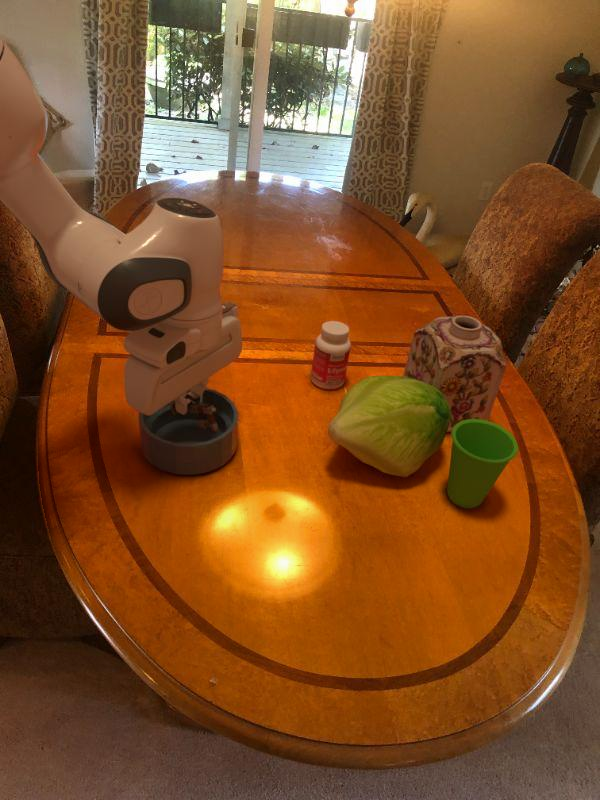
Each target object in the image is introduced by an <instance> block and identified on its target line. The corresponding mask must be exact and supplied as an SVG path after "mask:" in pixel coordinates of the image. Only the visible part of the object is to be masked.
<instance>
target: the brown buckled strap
mask: <svg viewBox="0 0 600 800" xmlns="http://www.w3.org/2000/svg"><path fill="white" fill-rule="evenodd" d="M170 407H171V410H172V413H173V415H174V414H177V413H178V412H177V411H176V409H175V401H173V402H172V403H171V404H170ZM191 407H192V409H191V410H190V411H189V413H196V414H197V413H199V412H201V413H203V414H204V415H205V416H206V417H207V418H208V419H209V421H210V422H208V419H207V420H206V421H205V420H203V419H202V420H200V421H198V422H197V424H198V425H199V427H204V429H206V428H207V427H209V426H211V428H212V430H213V432H214V433H216V432H218V431H219V430H218V428H217V427H218V425H217V422H215V419H214V416H213V412H215V411H216V409H215V408H214V407H213V405H209V404H207V403H206V404H205V405H204V406H201V405H198V404H192V405H191Z"/></svg>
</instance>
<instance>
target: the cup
mask: <svg viewBox="0 0 600 800" xmlns="http://www.w3.org/2000/svg"><path fill="white" fill-rule="evenodd" d="M450 433H451V434H450V435H451V439H452V445H451V453H450V459H449V460H450V461H449V469H448V478H447V486H446V493H447V496H448V498H449V500H450V501H451V502H452V503H453V504H455V506H458V507H460V508H463V509H474V508H477V507H479V506H480V505H481V504H482V503H483V501H484V500H485V499H486V497H487V495H488V494H489V493H490V492H491V490H492V488H493V487H494V485H495V484H496V482H497V480H498V479H499V477H500V476H501V474H502V473H503V471H504V470H505V468H506V467H507V466H508V464H509V462H510V461H512V460H513V459H514V458H516V457H517V455H518V452H519V446H518V442H517V440H516V438H515V437H514V435H513V434H512V433H511V432H510V431H509V430H507V429H506V428H504V427H503V426H501V425H499V424H497V423H495V422H492V421H489V420H488V421H486V420H481V419H467V420H463V421H460V422H459V423H457V424H456V425H455V426H454V427H453V429H452V432H450Z"/></svg>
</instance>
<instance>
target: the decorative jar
mask: <svg viewBox="0 0 600 800" xmlns="http://www.w3.org/2000/svg"><path fill="white" fill-rule="evenodd" d="M506 369H507V362H506V356H505V352H504V350H503V345H502V340H501V339H500V337H498V335H497V334H496V333H495V332H494V331H493V330H492V329H491V327H489V326H487V325H485V324H482V323H481V321H480V320H478V319H477V318H475V317H474V316H469V315H456V316H439V317H436V318H434V319H433V320H430V321H428V322H427V323H425V324H423V325H421V326H420V327H419V328H417V329H416V330H414V332H413V335H412V340H411V343H410V347H409V352H408V354H407V359H406V363H405V367H404V371H403V374H402V375H403V376H402V377H412V378H414V379H417V380H419V381H422V382H424V383H427V384H429V385H432V386H434V387H435V388H436V389H438V390H439V391H440V392H442V394H443V396H444V397H445V399H446V401H447V403H448V404H449V406H450V412H451V419H450V424H449V427H448V430H447V433H451V432H452V429H453V427H454V426H455V425H456V424H457V423H459V422H460V421H463V420H467V419H481V420H486V421H489V418H490V416H491V413H492V410H493V407H494V405H495V401H496V398H497V396H498V393H499V390H500V387H501V384H502V381H503V378H504V374H505V372H506Z"/></svg>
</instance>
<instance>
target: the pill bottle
mask: <svg viewBox="0 0 600 800" xmlns="http://www.w3.org/2000/svg"><path fill="white" fill-rule="evenodd" d="M349 333H350V327H349V326H348V324H346V323H343V322H341V321H337V320H328V321H326V322H324V323H322V325H321V329H320V334H319V335H317V337H316V339H315V342H314V350H313V357H312V365H311V372H310V380H311V382H312V383H313V384H314V385H315V386H316V387H317V388H320V389H323V390H337V389H339V388H341V387H342V386H343V385H344V383H345V381H346V376H347V369H348V365H349V359H350V358H349V357H350V353H351V346H352V343H351V340H350V338H349Z"/></svg>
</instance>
